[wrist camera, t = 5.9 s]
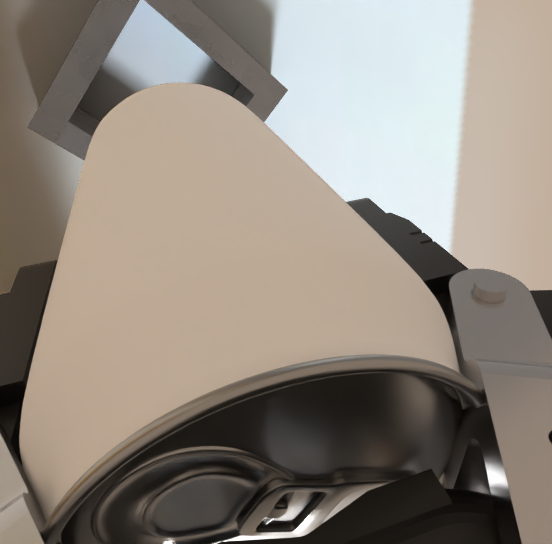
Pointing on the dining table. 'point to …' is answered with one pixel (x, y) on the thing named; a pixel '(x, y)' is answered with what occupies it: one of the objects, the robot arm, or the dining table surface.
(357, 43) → the dining table surface
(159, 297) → the can
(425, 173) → the dining table surface
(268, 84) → the sleeve
